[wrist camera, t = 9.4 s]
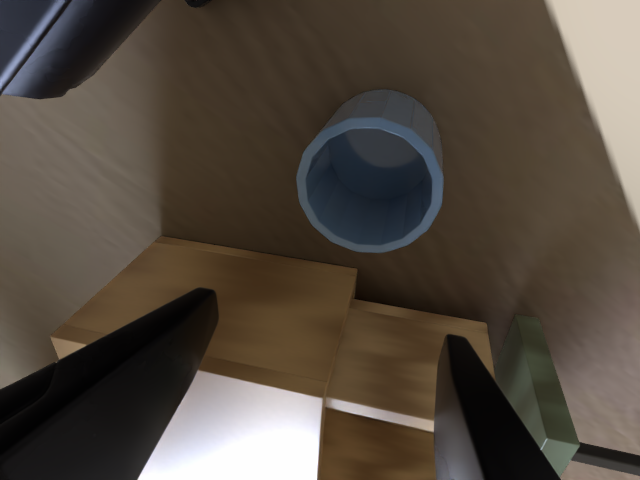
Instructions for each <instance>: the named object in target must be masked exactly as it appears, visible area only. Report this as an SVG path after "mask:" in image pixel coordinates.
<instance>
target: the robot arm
mask: <svg viewBox="0 0 640 480" xmlns="http://www.w3.org/2000/svg"><path fill="white" fill-rule="evenodd" d="M160 1H161V0H0V96H1V94H5V95H12V96H20V97H27V98H34V99H46V98H56V97H62V96H63V95H65V94H66V93H67V91H68V90H69V89H72V88H76V87H77V86H79V85H80V84H81V83H83V82H84V81H86V80H87V79H89V78H90V77H91V76H93V75H94V74H95V73H96V72H97V71H98V70H99V69H100V67H101V66H102V65H103V64H104V63H105V62H106V61H107V60H108V59H109V57H110V56H111V55H112V54H113V53H114V52H115V51H116V50H117V49H118V48H119V46H120V45H121V44H122V43H123V42H124V41H125V40H126V39H127V38H128V36H129V35H130V34H131V33H132V32H133V31H134V30H135V29H136V28H137V27H138V25H139V24H140V23H141V22H142V21H143V20H144V19H145V18H146V17H147V15H148V14H149V13H150V12H151V11H152V10H153V9H154V8H155V7H156V6H157V4H158V3H159V2H160ZM210 1H212V0H197V1H196V0H185V2H186V3H187V4H188V5H189V6H191V7H195V8H198V7H202V6H204V5H206V4H207V3H209V2H210ZM218 320H219V311H218V302H217V294H216V292H215V290H213V289H209V288H204V287H198V288H195V289H193V290H191V291H190V292H188V293H186V294H184V295H182V296H180V297H178V298H176V299H174V300H172V301H170V302H168V303H167V304H165V305H163V306H161V307H159V308H157V309H155V310H153V311H151V312H149V313H147V314H146V315H144V316H142V317H140V318H138V319H136V320H134V321H132V322H130V323H128V324H126V325H125V326H123V327H121V328H119V329H117V330H115V331H113V332H111V333H109V334H107V335H105V336H104V337H102V338H100V339H98V340H96V341H94V342H92V343H90V344H88V345H86V346H84V347H83V348H81V349H79V350H77V351H75V352H73V353H71V354H69V355H67V356H65V357H63V358H61V359H60V360H58V361H57V363H55V362H54V363H52V364H50V365H48V366H46V367H44V368H42V369H40V370H38V371H36V372H34V373H32V374H30V375H28V376H26V377H24V378H22V379H20V380H19V381H17V382H15V383H13V384H11V385H9V386H6V387H4V388H2V389H0V480H138V478H139V476H140V474H141V473H142V471H143V469H144V467H145V466H146V464H147V462H148V460H149V458H150V457H151V455H152V453H153V451H154V450H155V448H156V446H157V444H158V442H159V441H160V439H161V437H162V435H163V434H164V432H165V430H166V428H167V427H168V425H169V423H170V421H171V419H172V418H173V416H174V414H175V412H176V411H177V409H178V407H179V405H180V403H181V402H182V400H183V398H184V396H185V395H186V393H187V391H188V389H189V387H190V386H191V384H192V382H193V380H194V378H195V376H196V373H197V371H198V369H199V367H200V364H201V362H202V360H203V357H204V355H205V353H206V350H207V348H208V346H209V343H210V341H211V339H212V336H213V334H214V331H215V329H216V327H217V324H218ZM434 453H435V468H436V480H561V479H560V477H559V476H558V474H557V473H556V471H555V470H554V468H553V467H552V465H551V464H550V462H549V461H548V459H547V458H546V456H545V455H544V453H543V452H542V450H541V449H540V447H539V446H538V444H537V443H536V441H535V440H534V438H533V437H532V435H531V434H530V432H529V431H528V429H527V428H526V426H525V425H524V423H523V422H522V420H521V419H520V417H519V416H518V414H517V413H516V411H515V410H514V408H513V407H512V405H511V404H510V402H509V401H508V399H507V398H506V396H505V395H504V393H503V392H502V390H501V389H500V387H499V386H498V384H497V383H496V381H495V380H494V378H493V377H492V375H491V374H490V372H489V371H488V369H487V368H486V366H485V365H484V363H483V362H482V360H481V359H480V357H479V356H478V354H477V353H476V351H475V350H474V348H473V347H472V345H471V344H470V342H469V341H468V340H467V338H465V337H463V336H459V335H453V334H447V335H446V336H445V338H444V342H443V345H442V349H441V353H440V356H439V360H438V366H437V380H436V397H435V414H434Z"/></svg>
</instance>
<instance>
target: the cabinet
mask: <svg viewBox="0 0 640 480" xmlns="http://www.w3.org/2000/svg"><path fill="white" fill-rule="evenodd" d="M357 271H358V270H357V269H356V268H350V267H344V266H338V265H332V264H326V263H320V262H314V261H308V260H302V259H296V258H290V257H284V256H278V255H272V254H266V253H260V252H254V251H248V250H242V249H236V248H230V247H224V246H218V245H212V244H206V243H200V242H194V241H188V240H182V239H176V238H170V237H165V236H160V237H159V238H158V239H157V240H156V241H155V242H153V243H152V244H151V245H150V246H149V247H148V248H147V249H146V250H144V251H143V252H142V253H141V254H140V255H139V256H138V257H137V258H136V259H135V260H133V261H132V262H131V263H130V264H129V265H128V266H127V267H126V268H125V269H123V270H122V271H121V272H120V273H119V274H118V275H117V276H116V277H115V278H114V279H112V280H111V281H110V282H109V283H108V284H107V285H106V286H105V287H104V288H102V289H101V290H100V291H99V292H98V293H97V294H96V295H95V296H94V297H92V298H91V299H90V300H89V301H88V302H87V303H86V304H85V305H84V306H83V307H81V308H80V309H79V310H78V311H77V312H76V313H75V314H74V315H73V316H71V317H70V318H69V319H68V320H67V321H66V322H65V323H64V324H63V325H62V326H60V327H59V328H58V329H57V330H56V331H55V332H54V333H53V334H52V335H51V336H50V338H51V340H52V343H53V345H54V347H55V350H56V352H57V355H58V357H59V359H61V358H63V357H65V356H67V355H69V354H71V353H73V352H75V351H77V350H79V349H81V348H83V347H84V346H86V345H88V344H90V343H92V342H94V341H96V340H98V339H100V338H102V337H104V336H105V335H107V334H109V333H111V332H113V331H115V330H117V329H119V328H121V327H123V326H125V325H126V324H128V323H130V322H132V321H134V320H136V319H138V318H140V317H142V316H144V315H146V314H147V313H149V312H151V311H153V310H155V309H157V308H159V307H161V306H163V305H165V304H167V303H168V302H170V301H172V300H174V299H176V298H178V297H180V296H182V295H184V294H186V293H188V292H190V291H191V290H193V289H195V288H198V287H204V288H209V289H213V290H215V292H216V294H217V302H218V311H219V320H218V324H217V327H216V329H215V331H214V334H213V336H212V339H211V341H210V343H209V346H208V348H207V350H206V353H205V355H204V357H203V360H202V362H201V364H200V367H199V369H198V371H197V373H196V376H195V378H194V380H193V382H192V384H191V386H190V387H189V389H188V391H187V393H186V395H185V396H184V398H183V400H182V402H181V403H180V405H179V407H178V409H177V411H176V412H175V414H174V416H173V418H172V419H171V421H170V423H169V425H168V427H167V428H166V430H165V432H164V434H163V435H162V437H161V439H160V441H159V442H158V444H157V446H156V448H155V450H154V451H153V453H152V455H151V457H150V458H149V460H148V462H147V464H146V466H145V467H144V469H143V471H142V473H141V474H140V476H139V478H138V480H320V473H321V460H322V446H323V433H324V420H325V407H326V393H327V391H328V387H329V383H330V379H331V375H332V371H333V368H334V364H335V360H336V356H337V352H338V348H339V345H340V341H341V337H342V333H343V329H344V326H345V322H346V318H347V314H348V310H349V306H350V303H351V299H354V298H355V289H356V280H357Z"/></svg>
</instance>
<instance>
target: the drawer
mask: <svg viewBox="0 0 640 480" xmlns="http://www.w3.org/2000/svg"><path fill="white" fill-rule="evenodd" d="M447 334H453V335H459V336H463V337H465V338H467V340H468V341H469V342H470V344H471V345H472V347H473V348H474V350H475V351H476V353H477V354H478V356H479V357H480V359H481V360H482V362H483V363H484V365H485V366H486V368H487V369H488V371H489V372H490V374H491V375H492V377H493V378H494V380H495V381H496V383H497V384H498V386H499V387H500V389H501V390H502V392H503V393H504V395H505V396H506V398H507V399H508V401H509V402H510V404H511V405H512V407H513V408H514V410H515V411H516V413H517V414H518V416H519V417H520V419H521V420H522V422H523V423H524V425H525V426H526V428H527V429H528V431H529V432H530V434H531V435H532V437H533V438H534V440H535V441H536V443H537V444H538V446H539V447H540V449H541V450H542V452H543V453H544V455H545V456H546V458H547V459H548V461H549V462H550V464H551V465H552V467H553V468H554V470H555V471H556V473H557V474H558V476H559V477H560V476H561V474H562V473H563V471H564V470H565V468H566V467H567V465H568V463H569V462H570V460H572V461H577V462H581V463H585V464H590V465H594V466H598V467H603V468H607V469H612V470H616V471H620V472H625V473H629V474H634V475H638V476H640V455H635V454H631V453H626V452H621V451H617V450H612V449H608V448H603V447H599V446H594V445H590V444H585V443H581V442H579V441H578V438H577V434H576V431H575V428H574V425H573V422H572V419H571V416H570V413H569V410H568V407H567V404H566V401H565V398H564V394H563V391H562V388H561V385H560V382H559V379H558V376H557V373H556V370H555V367H554V364H553V361H552V358H551V354H550V351H549V348H548V345H547V342H546V339H545V336H544V333H543V330H542V327H541V324H540V321H539V318H534V317H528V316H522V315H517V314H515V316H514V319H513V322H512V324H511V327H510V329H509V332H508V335H507V337H506V340H505V342H504V345H503V348H502V350H501V353H500V355H499V358H498V360H497V363H496V366H495V368H494V367H493V361H492V355H491V348H490V342H489V336H488V328H487V323H483V322H478V321H472V320H467V319H461V318H456V317H450V316H445V315H439V314H434V313H428V312H422V311H417V310H411V309H406V308H400V307H395V306H389V305H384V304H378V303H373V302H367V301H362V300H356V299H351V303H350V306H349V310H348V314H347V318H346V322H345V326H344V329H343V333H342V337H341V341H340V345H339V348H338V352H337V356H336V360H335V364H334V368H333V371H332V375H331V379H330V383H329V387H328V391H327V393H326V407H325V420H324V433H323V446H322V460H321V473H320V480H436V468H435V453H434V414H435V397H436V380H437V366H438V360H439V356H440V353H441V349H442V345H443V342H444V338H445V336H446V335H447Z"/></svg>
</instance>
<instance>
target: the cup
mask: <svg viewBox="0 0 640 480" xmlns="http://www.w3.org/2000/svg"><path fill="white" fill-rule="evenodd" d="M296 182H297V190H298V198H299V202H300V205H301V207H302V209H303V211H304V212H305V214H306V216H307V218H308V220H309V221H310V223H311V225H312V226H313V227H314V228H315V229H317V230H318V231H319V232H320V233H321V234H322V235H324V236H325V237H326V238H327V239H328V240H329V241H331V242H332V243H335V244H337V245H340V246H342V247H345V248H347V249H350V250H352V251H355V252H369V253H385V252H388V251H391V250H394V249H398V248H401V247H404V246H407V245H409V244H410V243H412V242H413V241H414V240H415V239H417V238H418V237H419V236H421V235H422V234H423V233H424V232H426V231H427V230H428V229H429V228H430V226H431V224H432V223H433V221H434V219H435V217H436V215H437V213H438V212H439V210H440V208H441V205H442V198H443V183H444V174H443V158H442V142H441V138H440V134H439V131H438V127H437V125H436V123H435V120H434V119H433V117H432V115H431V114H430V112H429V111H428V110H427V109H426V108H425V107H424V106H423V105H422V104H421V103H420V102H419V101H417V100H416V99H414V98H413V97H411V96H409V95H407V94H405V93H402V92H398V91H394V90H388V89H378V90H370V91H366V92H363V93H360V94H358V95H356V96H354V97H352V98H350V99H349V100H348V101H346V102H344V103H343V104H342V105H341V106H340V108H339V109H338V110H337V111H336V112H335V113H334V114H333V116H332V117H331V118H330V119H329V120H328V121H327V123H326V124H325V125H324V126H323V128H322V129H321V130H320V131H319V133H318V134H317V135H316V136H315V138H314V139H313V140H312V141H311V143H310V144H309V145H308V147H307V148H306V149H305V150H304V152H303V155H302V158H301V162H300V165H299V168H298V172H297V175H296Z"/></svg>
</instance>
